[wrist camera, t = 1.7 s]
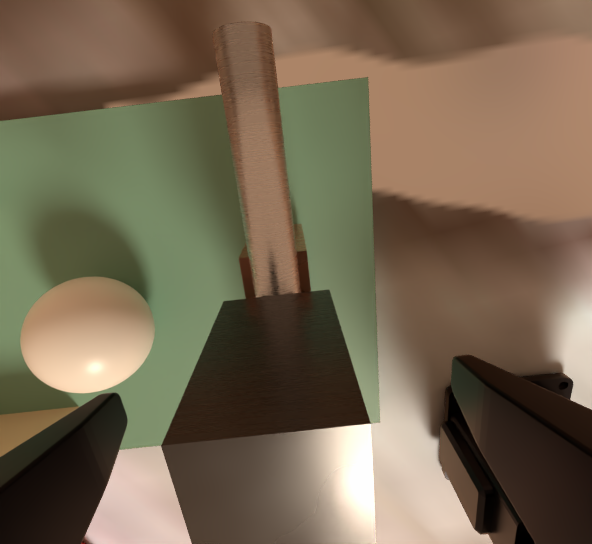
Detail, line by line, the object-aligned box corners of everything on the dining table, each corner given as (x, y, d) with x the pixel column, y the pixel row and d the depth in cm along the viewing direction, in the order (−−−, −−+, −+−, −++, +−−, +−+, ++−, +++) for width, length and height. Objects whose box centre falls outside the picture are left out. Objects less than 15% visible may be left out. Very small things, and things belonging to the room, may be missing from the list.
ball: (156, 256, 14) (102, 297, 10) (179, 345, 16) (141, 413, 12) (54, 268, 14) (-39, 313, 10) (86, 355, 16) (16, 427, 12)
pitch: (362, 82, 13) (391, 54, 10) (375, 408, 19) (397, 473, 15) (-182, 147, 14) (-362, 145, 10) (-17, 450, 19) (-93, 524, 15)
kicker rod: (299, 66, 12) (341, -238, 3) (334, 442, 17) (386, 762, 8) (213, 76, 12) (-39, -186, 3) (276, 448, 17) (264, 773, 8)
